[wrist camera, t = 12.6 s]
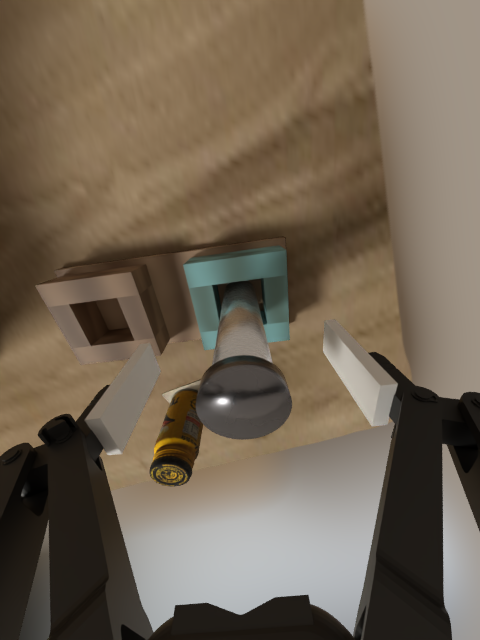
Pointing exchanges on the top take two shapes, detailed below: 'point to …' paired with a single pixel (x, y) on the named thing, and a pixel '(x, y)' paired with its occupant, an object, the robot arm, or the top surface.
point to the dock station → (164, 298)
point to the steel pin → (242, 373)
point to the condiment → (178, 438)
